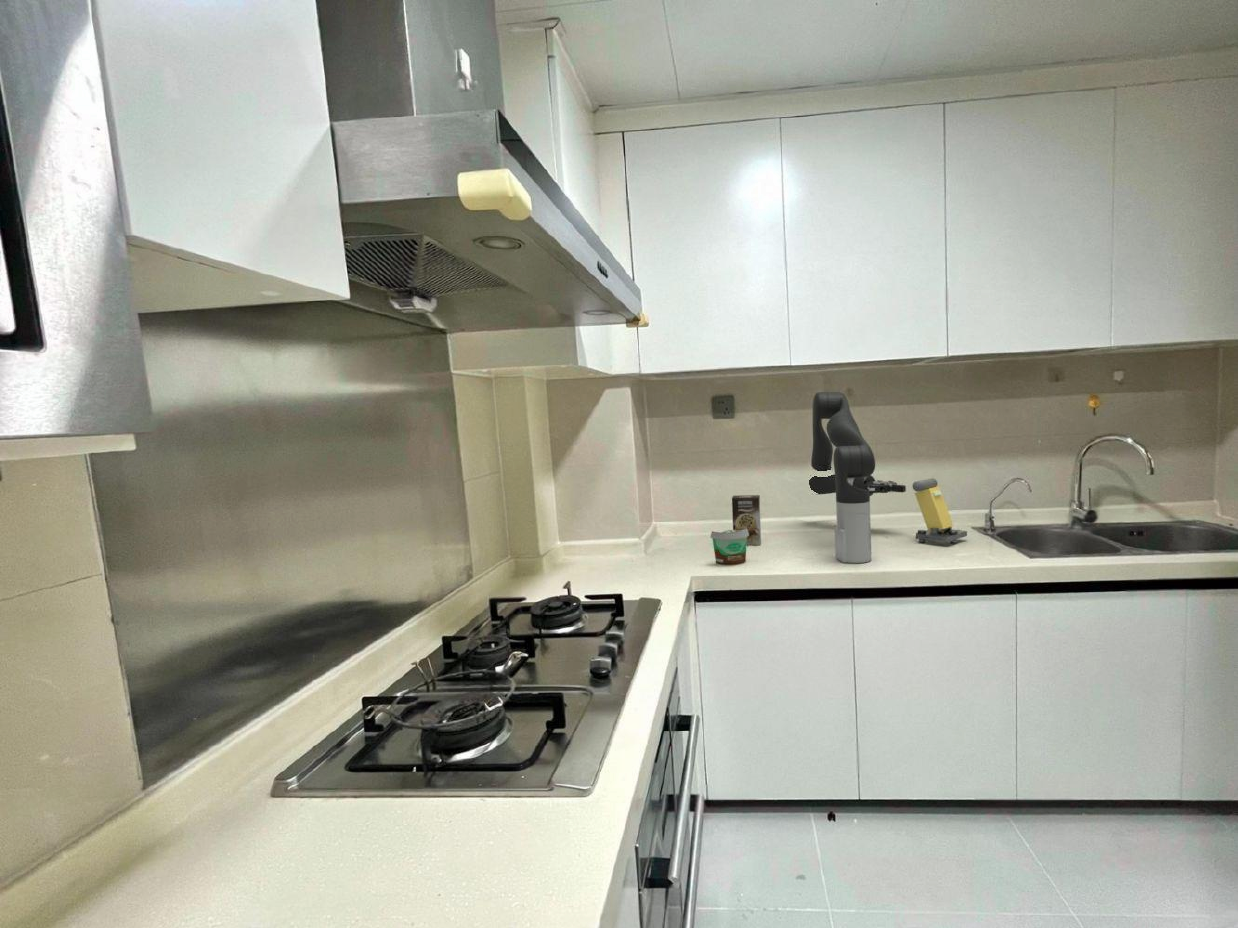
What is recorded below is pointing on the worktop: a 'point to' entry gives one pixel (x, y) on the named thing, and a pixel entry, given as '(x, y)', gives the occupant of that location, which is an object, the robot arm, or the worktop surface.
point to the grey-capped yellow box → (932, 505)
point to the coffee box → (747, 516)
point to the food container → (730, 546)
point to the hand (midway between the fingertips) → (904, 488)
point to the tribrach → (940, 535)
